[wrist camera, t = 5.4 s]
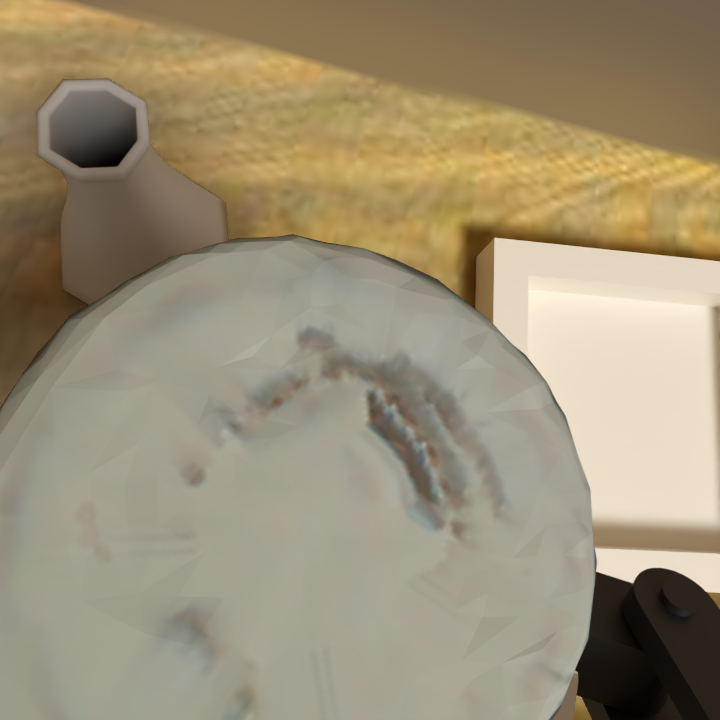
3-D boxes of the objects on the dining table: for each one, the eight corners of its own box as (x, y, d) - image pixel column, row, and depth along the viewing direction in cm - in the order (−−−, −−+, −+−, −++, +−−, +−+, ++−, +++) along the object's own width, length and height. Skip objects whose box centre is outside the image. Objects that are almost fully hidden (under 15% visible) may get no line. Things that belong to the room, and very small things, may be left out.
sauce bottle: (351, 401, 25) (761, 73, 5) (364, 582, 23) (940, 996, 4) (162, 411, 23) (-193, 35, 4) (167, 602, 22) (-289, 1308, 3)
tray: (469, 576, 29) (489, 584, 26) (476, 257, 31) (494, 237, 29) (754, 587, 30) (797, 595, 28) (736, 283, 33) (774, 267, 31)
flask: (86, 149, 30) (3, -16, 20) (251, 192, 30) (247, 52, 21) (35, 306, 28) (-82, 209, 18) (209, 347, 29) (185, 274, 19)
